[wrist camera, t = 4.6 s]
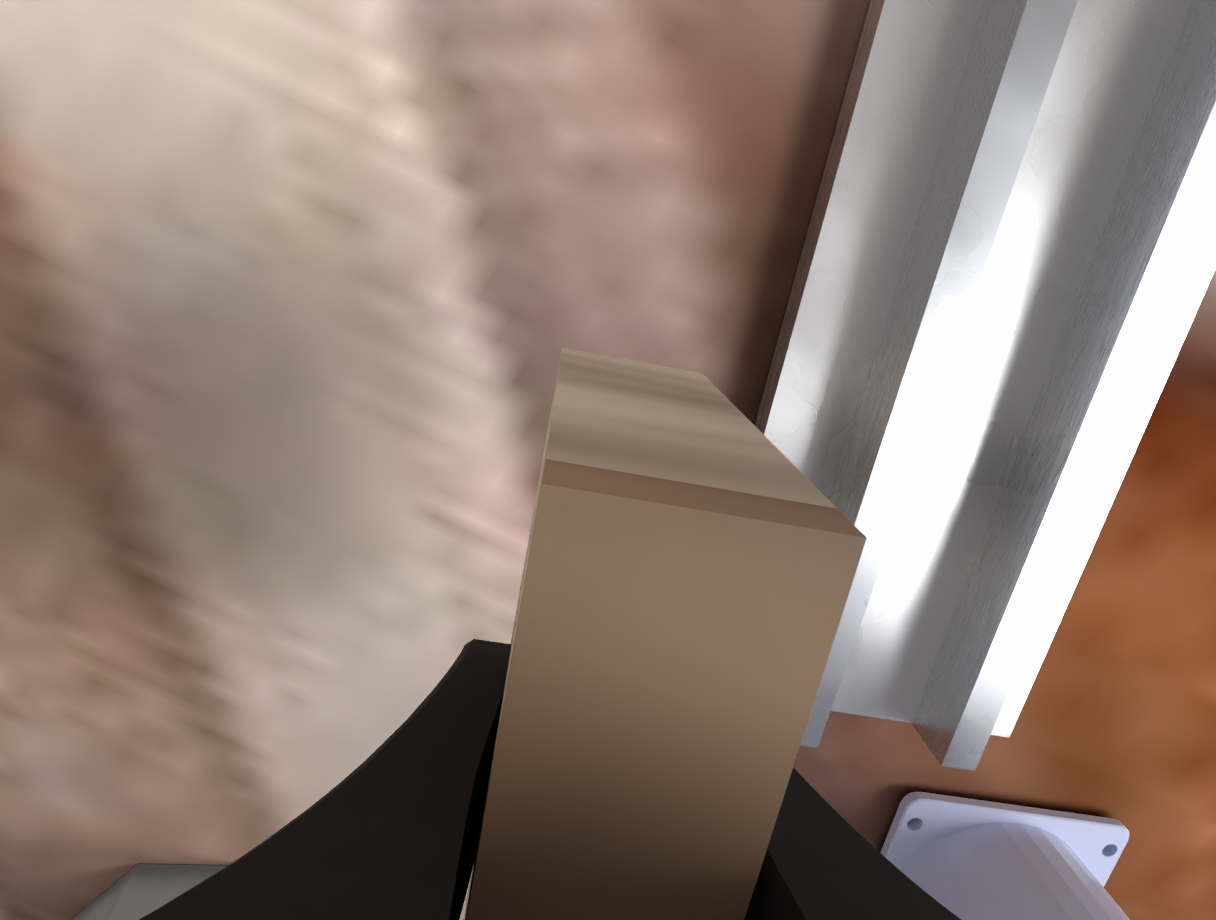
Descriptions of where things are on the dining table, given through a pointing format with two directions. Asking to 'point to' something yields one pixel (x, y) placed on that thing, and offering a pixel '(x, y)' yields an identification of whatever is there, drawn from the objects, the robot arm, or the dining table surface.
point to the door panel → (655, 654)
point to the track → (990, 329)
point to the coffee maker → (145, 890)
